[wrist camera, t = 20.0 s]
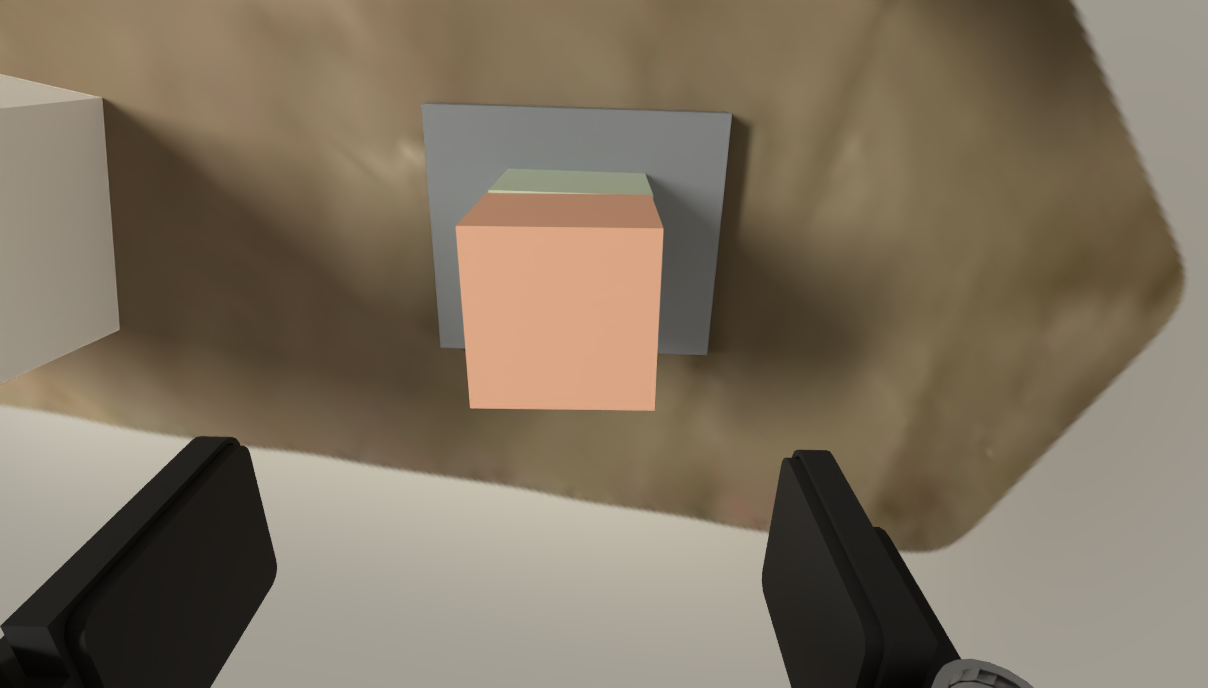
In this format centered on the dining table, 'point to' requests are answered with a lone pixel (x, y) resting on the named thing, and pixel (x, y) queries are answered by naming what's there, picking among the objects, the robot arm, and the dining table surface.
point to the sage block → (571, 182)
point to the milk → (53, 225)
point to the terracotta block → (561, 300)
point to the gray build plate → (599, 144)
